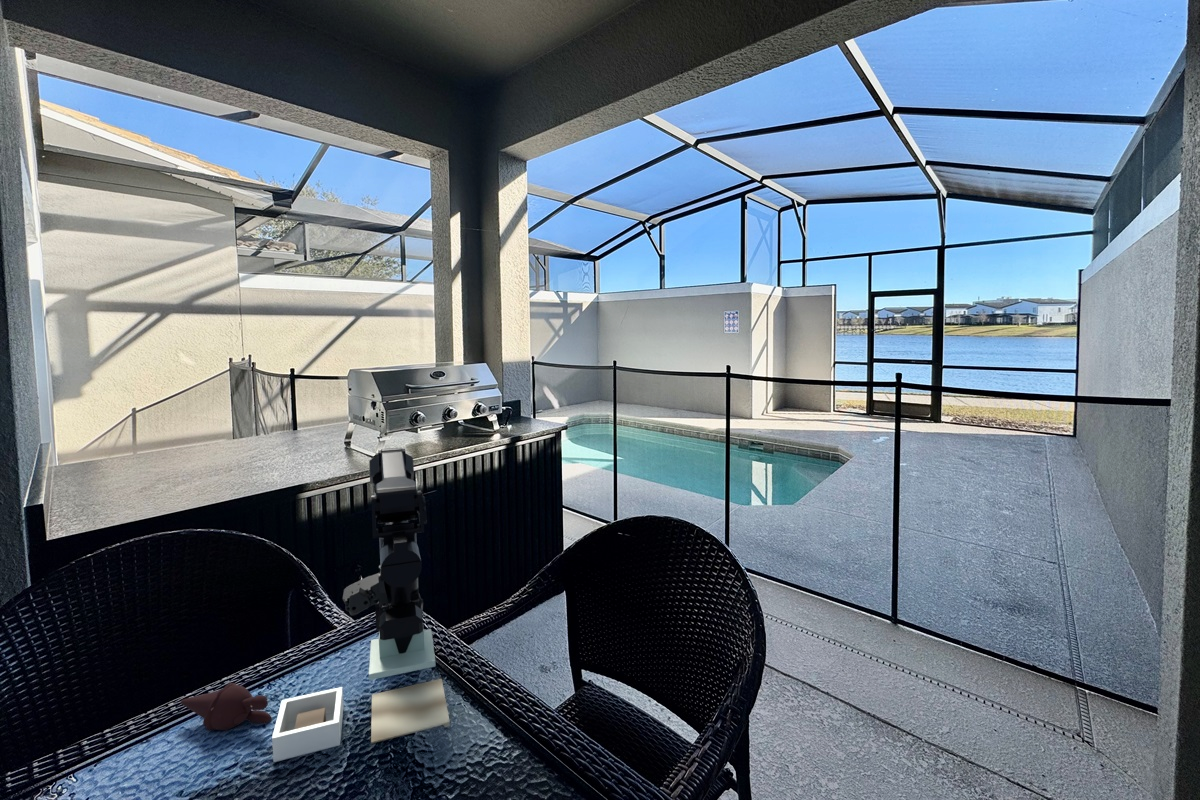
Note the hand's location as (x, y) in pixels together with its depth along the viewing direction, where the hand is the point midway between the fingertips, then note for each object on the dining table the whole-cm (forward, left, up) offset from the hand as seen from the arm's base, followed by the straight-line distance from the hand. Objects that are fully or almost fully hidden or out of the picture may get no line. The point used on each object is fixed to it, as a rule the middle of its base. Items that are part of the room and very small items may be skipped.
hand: (402, 648), depth 89 cm
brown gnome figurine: (-8, -27, -12) cm, 31 cm away
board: (0, +1, -12) cm, 12 cm away
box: (0, -14, -12) cm, 19 cm away
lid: (0, 0, -2) cm, 2 cm away
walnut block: (0, -14, -11) cm, 18 cm away
